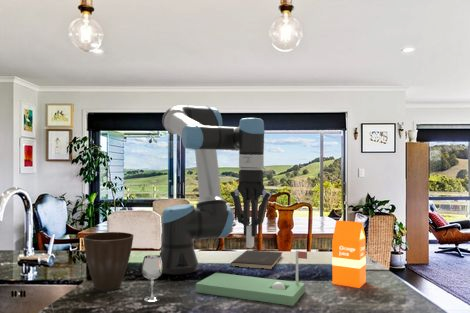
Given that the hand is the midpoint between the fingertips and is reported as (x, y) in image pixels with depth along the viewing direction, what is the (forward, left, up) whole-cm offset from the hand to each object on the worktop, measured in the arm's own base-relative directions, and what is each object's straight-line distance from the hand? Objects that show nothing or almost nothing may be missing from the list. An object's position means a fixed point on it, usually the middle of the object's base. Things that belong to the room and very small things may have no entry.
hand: (250, 246), depth 124 cm
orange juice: (+26, +22, -14) cm, 37 cm away
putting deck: (0, 0, -13) cm, 13 cm away
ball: (+9, -1, -11) cm, 15 cm away
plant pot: (-42, -14, -14) cm, 46 cm away
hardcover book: (-11, +39, -14) cm, 43 cm away
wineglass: (-23, -18, -14) cm, 32 cm away
